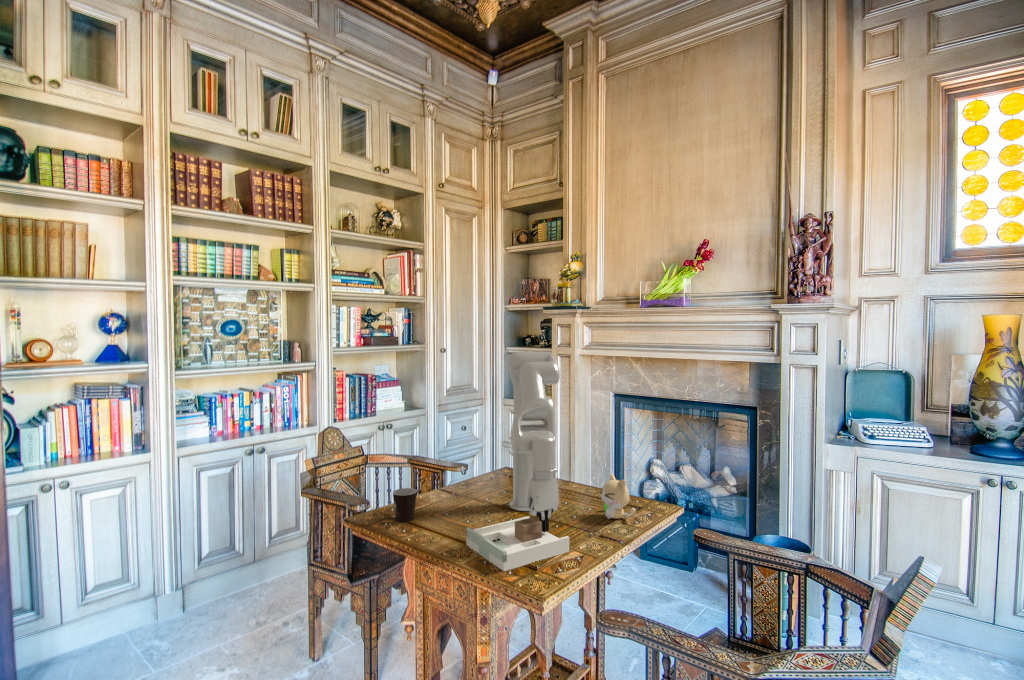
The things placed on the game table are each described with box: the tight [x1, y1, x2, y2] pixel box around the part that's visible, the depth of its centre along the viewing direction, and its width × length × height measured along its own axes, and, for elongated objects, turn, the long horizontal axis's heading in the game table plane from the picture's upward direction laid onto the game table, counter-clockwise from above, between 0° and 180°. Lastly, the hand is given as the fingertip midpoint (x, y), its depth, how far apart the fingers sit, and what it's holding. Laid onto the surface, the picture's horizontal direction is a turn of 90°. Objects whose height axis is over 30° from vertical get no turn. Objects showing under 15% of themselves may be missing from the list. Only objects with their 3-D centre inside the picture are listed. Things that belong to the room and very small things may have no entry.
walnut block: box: [515, 516, 542, 542], centre depth 167 cm, size 7×5×5 cm
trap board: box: [465, 515, 570, 572], centre depth 164 cm, size 24×22×6 cm
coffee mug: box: [392, 487, 418, 523], centre depth 189 cm, size 12×9×10 cm
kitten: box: [600, 472, 636, 520], centre depth 192 cm, size 15×10×15 cm
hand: (543, 530), depth 170 cm, fingers closed
